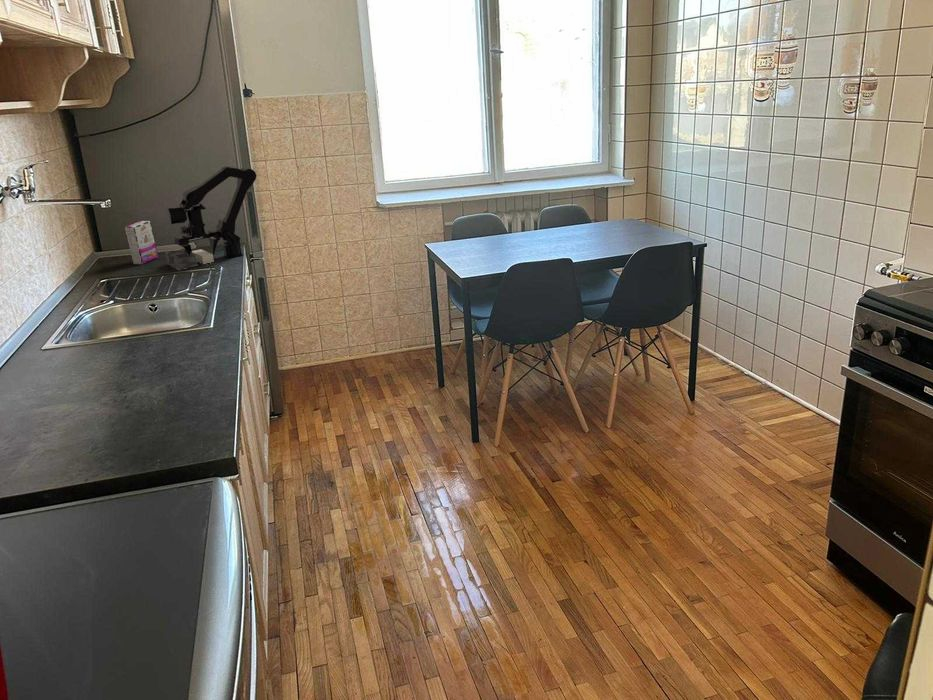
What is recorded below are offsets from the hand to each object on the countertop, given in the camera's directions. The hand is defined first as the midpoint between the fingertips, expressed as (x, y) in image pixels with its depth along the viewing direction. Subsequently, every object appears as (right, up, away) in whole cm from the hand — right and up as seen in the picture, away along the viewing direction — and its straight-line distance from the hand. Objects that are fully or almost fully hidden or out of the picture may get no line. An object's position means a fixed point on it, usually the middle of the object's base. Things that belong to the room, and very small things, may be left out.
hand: (202, 257), depth 302 cm
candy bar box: (-26, -1, +4) cm, 26 cm away
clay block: (0, -2, +1) cm, 2 cm away
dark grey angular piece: (-7, -4, -5) cm, 9 cm away
